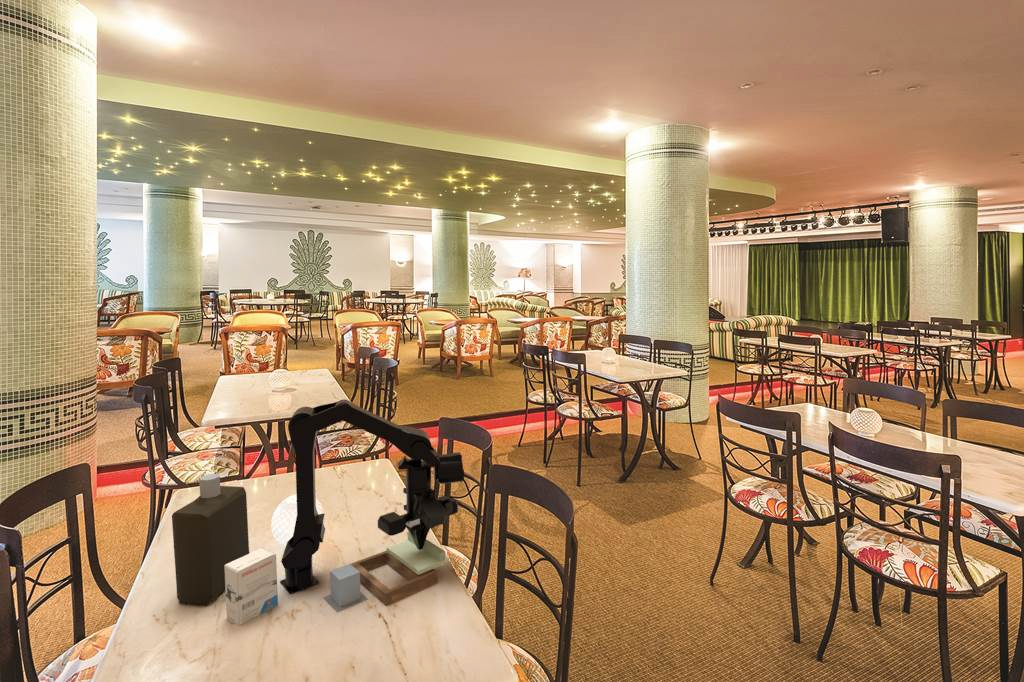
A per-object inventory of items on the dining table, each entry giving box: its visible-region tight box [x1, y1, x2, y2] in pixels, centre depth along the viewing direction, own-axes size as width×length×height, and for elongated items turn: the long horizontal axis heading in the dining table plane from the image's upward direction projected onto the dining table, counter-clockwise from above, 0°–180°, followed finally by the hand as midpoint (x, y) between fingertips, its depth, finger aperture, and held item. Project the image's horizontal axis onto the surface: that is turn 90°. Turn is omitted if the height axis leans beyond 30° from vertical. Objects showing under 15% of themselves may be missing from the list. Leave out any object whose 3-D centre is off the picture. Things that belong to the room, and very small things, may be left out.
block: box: [329, 563, 361, 607], centre depth 115 cm, size 4×4×6 cm
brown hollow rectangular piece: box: [350, 549, 438, 606], centre depth 123 cm, size 16×13×3 cm
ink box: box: [224, 547, 279, 626], centre depth 110 cm, size 9×5×12 cm, turn 147°
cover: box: [386, 531, 446, 575], centre depth 126 cm, size 14×7×3 cm, turn 43°
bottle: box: [171, 473, 250, 607], centre depth 119 cm, size 8×16×25 cm, turn 174°
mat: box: [322, 591, 369, 613], centre depth 115 cm, size 7×7×1 cm
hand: (419, 549), depth 127 cm, fingers closed
